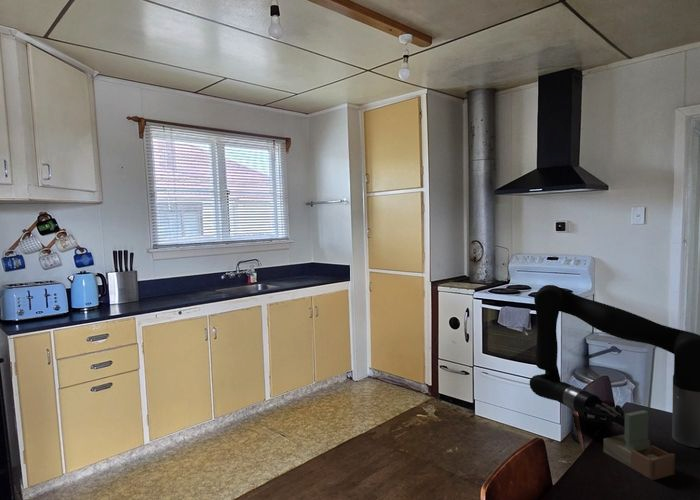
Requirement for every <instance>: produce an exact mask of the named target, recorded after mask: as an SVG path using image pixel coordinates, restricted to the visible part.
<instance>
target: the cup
mask: <svg viewBox="0 0 700 500" xmlns="http://www.w3.org/2000/svg"><path fill="white" fill-rule="evenodd" d="M650 447H651V452H650V454H653V455H656V456H657V457H655V458H651V459H649V458H648V457H646V456H644V455H642V454H640V453H638V452H636V451H635V450H631V467H630V468H631V469H632V470H634V471H636V472H637V473H639V474H641V475H642V476H645V477H646V478H648V479H650V480H651V481H655V480H659V479H663V478H667V477H670V476H673V475H676V471H675V470H676V454H675V453H673V452H672V453H670V452H667V451H666V450H663V449H661V448H659V447H657V446H655V445H651V444H650Z"/></svg>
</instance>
